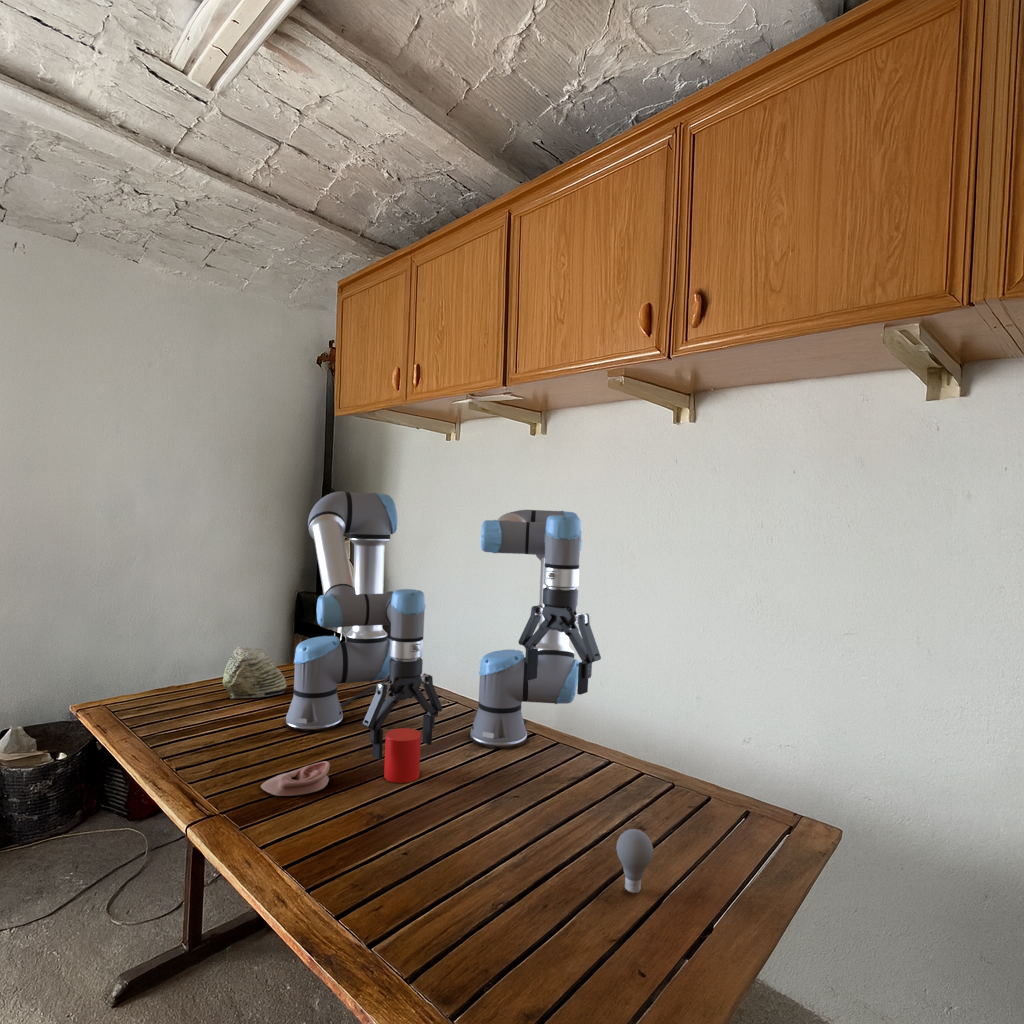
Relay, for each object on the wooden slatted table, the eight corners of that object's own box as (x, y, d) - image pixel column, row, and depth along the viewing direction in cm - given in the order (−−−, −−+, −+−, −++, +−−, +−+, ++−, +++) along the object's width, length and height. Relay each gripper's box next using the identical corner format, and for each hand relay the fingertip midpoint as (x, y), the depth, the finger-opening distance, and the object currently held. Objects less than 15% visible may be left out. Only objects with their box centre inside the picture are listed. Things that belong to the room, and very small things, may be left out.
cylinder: (377, 774, 146) (378, 733, 145) (405, 765, 151) (406, 725, 151) (398, 786, 140) (399, 743, 140) (426, 776, 146) (428, 735, 146)
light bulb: (610, 879, 108) (613, 822, 108) (644, 879, 109) (647, 822, 109) (619, 902, 102) (622, 840, 102) (655, 901, 103) (658, 840, 103)
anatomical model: (253, 773, 134) (283, 753, 145) (252, 792, 134) (282, 770, 145) (310, 782, 131) (336, 760, 142) (309, 801, 131) (335, 777, 143)
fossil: (218, 695, 195) (220, 647, 195) (278, 685, 208) (279, 640, 207) (228, 703, 189) (230, 653, 188) (289, 692, 201) (290, 645, 201)
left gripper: (367, 669, 134) (363, 769, 134) (458, 653, 151) (455, 742, 151) (349, 662, 139) (345, 758, 139) (439, 647, 157) (436, 733, 157)
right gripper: (505, 581, 141) (501, 676, 142) (600, 596, 125) (595, 703, 125) (527, 579, 147) (523, 670, 147) (620, 593, 130) (615, 695, 131)
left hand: (402, 750), depth 145 cm, fingers open, 13 cm apart
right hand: (556, 685), depth 136 cm, fingers open, 13 cm apart
